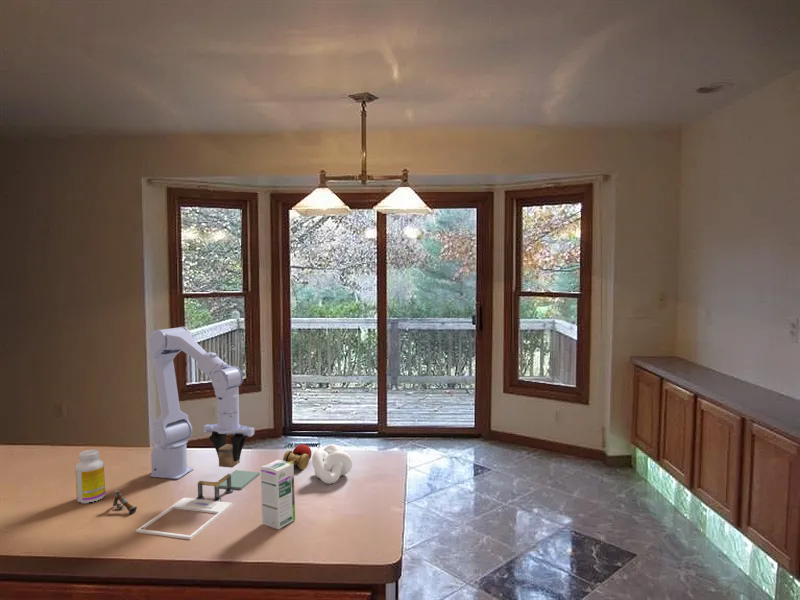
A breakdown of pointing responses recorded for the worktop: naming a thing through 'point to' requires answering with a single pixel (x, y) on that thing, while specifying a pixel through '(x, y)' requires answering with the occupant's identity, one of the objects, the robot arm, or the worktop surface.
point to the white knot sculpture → (331, 463)
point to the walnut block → (227, 456)
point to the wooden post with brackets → (124, 502)
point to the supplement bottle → (90, 477)
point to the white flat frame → (192, 505)
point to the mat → (240, 479)
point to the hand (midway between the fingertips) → (229, 459)
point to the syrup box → (277, 494)
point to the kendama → (299, 456)
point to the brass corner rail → (215, 487)
